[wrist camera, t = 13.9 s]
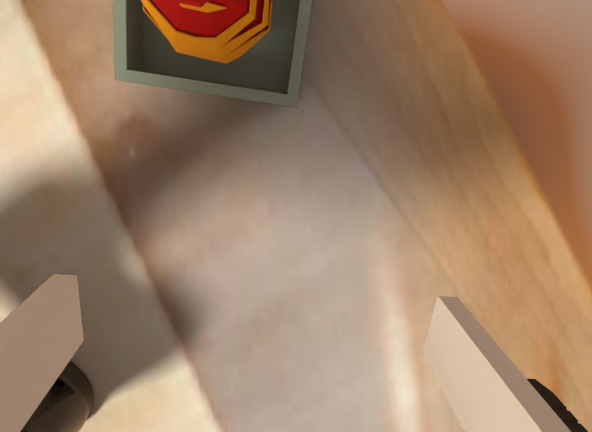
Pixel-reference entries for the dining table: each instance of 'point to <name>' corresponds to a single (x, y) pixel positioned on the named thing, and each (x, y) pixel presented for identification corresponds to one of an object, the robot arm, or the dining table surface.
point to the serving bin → (211, 74)
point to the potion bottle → (211, 25)
